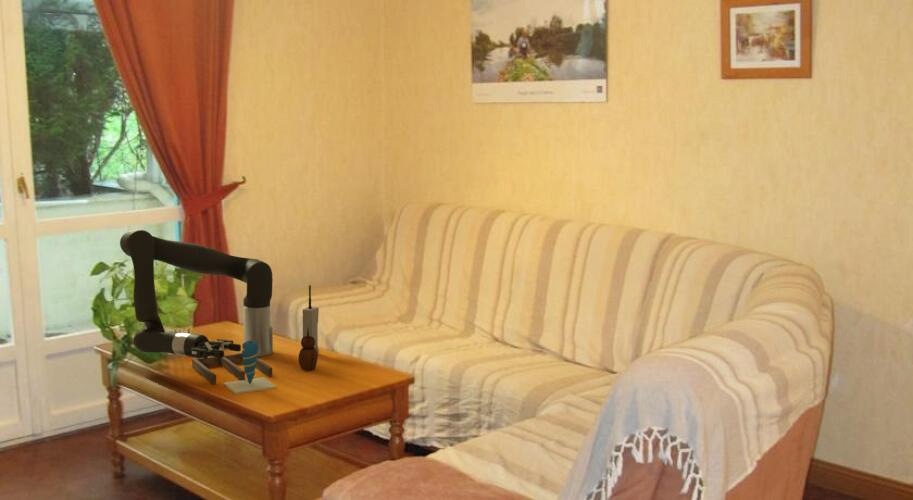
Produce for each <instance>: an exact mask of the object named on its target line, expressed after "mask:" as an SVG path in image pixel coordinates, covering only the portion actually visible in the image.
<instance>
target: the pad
mask: <svg viewBox="0 0 913 500" xmlns="http://www.w3.org/2000/svg"><path fill="white" fill-rule="evenodd" d="M223 386H224V387H226V388H227V389H229V390H230V391H231V392H232V393H234V394H235V395H236V394H244V393H250V392H251V393H252V392H257V391H265V390H266V391H267V390H272V389H276V388H277V387H276V385H275V384H274V383H272V381H271V382H270V381H269V380H268V379H266V378H265V377H257V378H255V377H254V378H253V380H252V382H251V384H249V382H248V379H245V380H235V381H234V380H233V381H226V382H223Z"/></svg>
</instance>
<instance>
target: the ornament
mask: <svg viewBox="0 0 913 500" xmlns="http://www.w3.org/2000/svg"><path fill="white" fill-rule="evenodd" d="M249 338H250V337H249ZM241 347H242V349H241V350H242V351H241V353H242V356H243V362H242V364H243V366H244V367H243V371H245V377H246V380H248V382H249V384H251V382H252V380H253V379H255V376H256V375H255V374H256V360H257V358H258V357H259V356H258V355H257V352H258V344H257V343H256V342H255V341H252V338H251V339H249V341H247V342H244V341H243V343H242V346H241Z"/></svg>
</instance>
